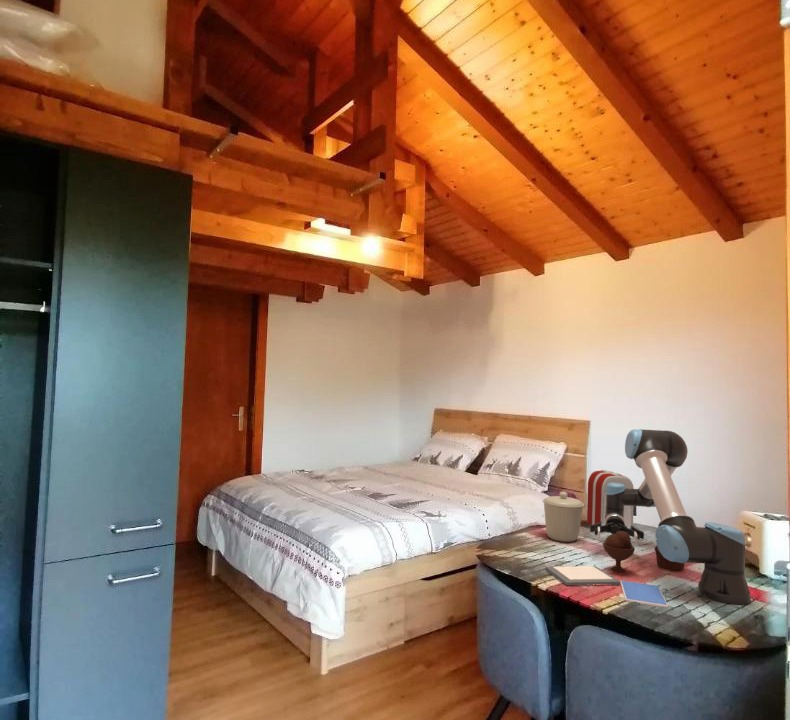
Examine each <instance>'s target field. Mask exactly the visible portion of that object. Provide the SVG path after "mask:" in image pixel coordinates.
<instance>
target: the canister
mask: <svg viewBox="0 0 790 720" xmlns="http://www.w3.org/2000/svg"><path fill="white" fill-rule="evenodd" d="M542 503H543V509H544V521H545V529H546V535H547V536H548V538H549V539H551V540H554V541H557V542H564V543H572V542H575V541H577V539H578V537H579V535H580V528H581V522H582V515H583V508H584V507H585V503H584V502H582V501H581V500H579V499H577V498H574V497H568V492H566V491H560V492H559V494H558V495H557V496H556V495H555V496H554V495H553V496H547V497H546V498H543V499H542Z"/></svg>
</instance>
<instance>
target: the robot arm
mask: <svg viewBox="0 0 790 720" xmlns="http://www.w3.org/2000/svg"><path fill="white" fill-rule="evenodd" d="M624 453H625V456H626V457H627V459H630V460H634V463H635V465H636V467H637V468H640V469H641V470H642V473H643V476H644V479H643V481H642V483H641V485H640V486H639V487H638V488H634V489H628V488H625V486H624V485H623V484H620V483H609V484H607V489H606V514H605V520H606V524H605V525H604V524H603V523H602V522H598V523H596V524H593V525H590V524H589V531H590V533H594V535H595V536H597V538H598V539H600V538H601V533H610V535H611V534H615V533H616V532H618V531H624V532H626V533H628V534H629V536H630V537H633V541H634V543H635V544H638V540H643V539H644V538H645V532H644V531H642V530H640V529H638V528H636V527H634V525H633V526H630V528H627V526H625V523H624V506H634V507H642V508H654V507H655V508H656V512H657V514H658V517H659V519H660V521H659V523H658V525H657V529H656V530H655V538H656V539H655V544H656V546H657V547H658V549H659V551H660V553H661V554H662V555H663V557H664V558H666V559H667V560H669V561H673V562H679V563H685V564H687V563H688V564H689V563H690V564H703V566H704V568H703V571H702V575H701V576H700V580H699V581H698V583H697V591H698V593H699V594H701V595H702V596H704V597H706V598H709V599H711V600H714V601H718V602H721V603H726V604H731V605H749V603H751V601H752V600H751V599H752V598H751V597H752V595H751V592H750V589H749V586H748V582H747V579H746V575H745V570H746V567H745V566H746V565H745V564H746V546H747V544H746V535H745V533H744V532H743V531H742V530H740V529H738V528H735V527H732V526H729V525H726V524H722V523H717V522H713V521H706V522H705V523H704V526H697V524H696V523H695V520H694V518H693V517H692V516H689V515H687V512H686V510H685V507H684V505H683V503H682V499H681V498H680V496H679V493H678V491H677V488H676V486H675V483H674V481H673V478H672V475H673V474H674V472H675V470H676V469H677V468H679V467H681V466H683V464H684V463H685V461H686V459H687V458H688V457H687V456H688V445H687V443H686V442H685V440H684V438H683V437H682V436H681V435H680V434H678V433H676V432H674V431H671V430H661V429H656V430H655V429H642V428H640V429H631V430H629V431H628V434H626V437H625V443H624Z"/></svg>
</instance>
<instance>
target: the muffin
mask: <svg viewBox="0 0 790 720" xmlns="http://www.w3.org/2000/svg"><path fill="white" fill-rule="evenodd" d="M654 551H655V557H656V565H657V566H658V568H659V567H660V569H662V568H663V570H666V571H669V572H682V571H684V568H685V564H686V563H679V562H673V561H669V560H667V559H666V558H664V557H663V555H662V554H661V553H660V551H659V549H658V547H657V545H655V547H654Z"/></svg>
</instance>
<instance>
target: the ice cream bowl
mask: <svg viewBox="0 0 790 720" xmlns="http://www.w3.org/2000/svg"><path fill="white" fill-rule="evenodd" d="M602 544H603V545H602V546H603V549H604V551H605V553H607V555H608V556H609V557H610V558H611V559H613V560H615V565H614V566H612V567H610V569H611V570H610V571H611V572H612V571H613V572H612V573H615V572H616V573H615V574H620V573H622V574H626V573H627V570H626V569H625V568H623V567H622V566H621V565H622V561H626V560H627V559H629V558H630V557H632V555H634V552H635V549H636V547H635V546H633V544H632V539H631V536H629V534H628V533H626V532H624V531H618V532H616V533H615V534H611V533H610V534H609V535H608V536H607V537H606V538H605V541H604V542H602ZM625 572H626V573H625Z"/></svg>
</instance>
